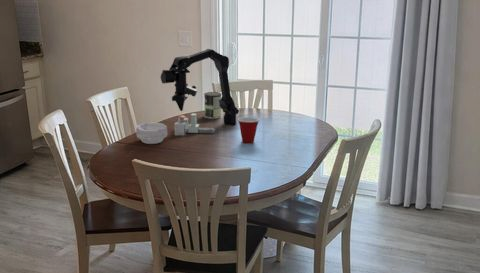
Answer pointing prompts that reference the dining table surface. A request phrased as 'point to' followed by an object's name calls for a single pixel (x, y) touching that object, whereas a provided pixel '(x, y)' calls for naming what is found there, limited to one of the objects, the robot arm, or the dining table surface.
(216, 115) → the coffee can
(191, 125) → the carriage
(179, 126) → the grey blocky piece
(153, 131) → the paper bowls
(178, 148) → the dining table surface
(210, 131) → the rail
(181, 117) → the orange knob lever
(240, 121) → the plastic cup
